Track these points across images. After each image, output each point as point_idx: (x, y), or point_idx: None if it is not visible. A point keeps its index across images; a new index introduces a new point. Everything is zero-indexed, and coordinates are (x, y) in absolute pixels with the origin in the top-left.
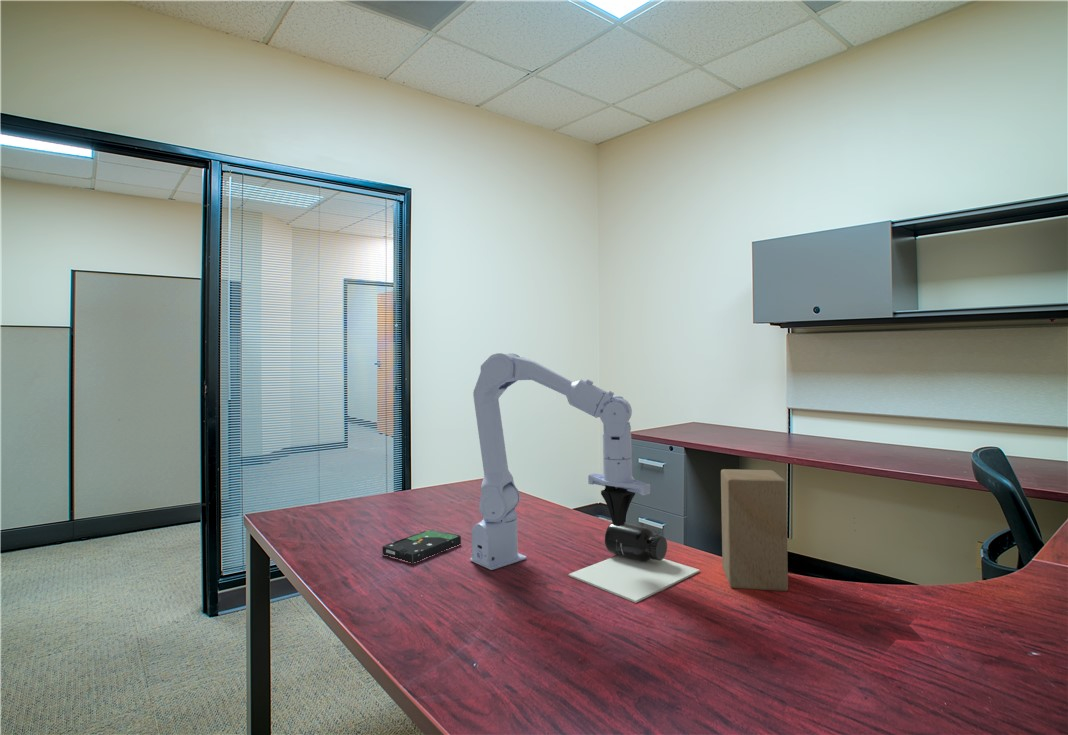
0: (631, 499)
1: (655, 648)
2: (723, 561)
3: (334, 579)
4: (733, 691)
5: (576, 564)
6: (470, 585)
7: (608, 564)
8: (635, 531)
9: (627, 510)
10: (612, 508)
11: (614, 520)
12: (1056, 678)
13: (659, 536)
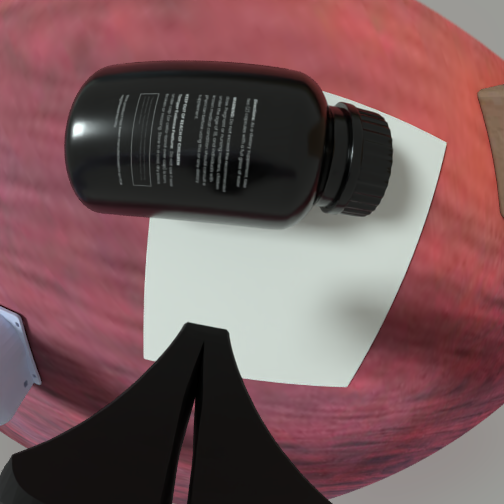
0: (299, 480)
1: (392, 435)
2: (501, 120)
3: (6, 428)
4: (452, 429)
5: (103, 285)
6: (76, 424)
7: (181, 252)
8: (252, 202)
9: (248, 394)
10: (177, 464)
11: (195, 400)
12: None
13: (380, 163)
